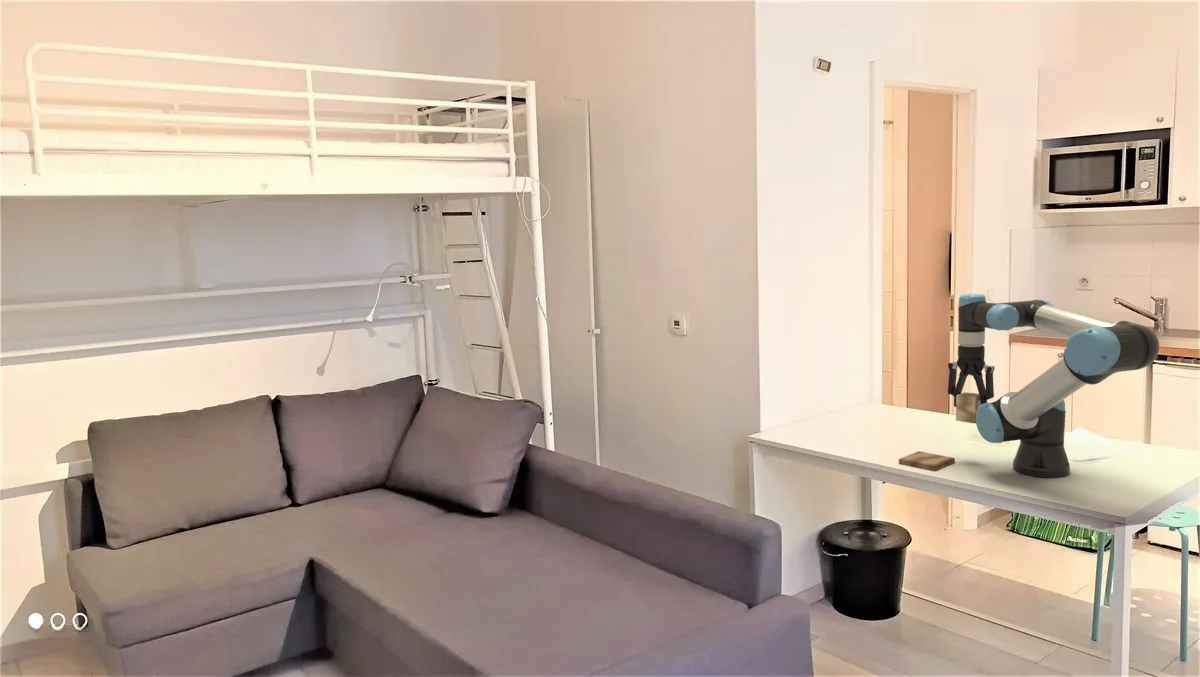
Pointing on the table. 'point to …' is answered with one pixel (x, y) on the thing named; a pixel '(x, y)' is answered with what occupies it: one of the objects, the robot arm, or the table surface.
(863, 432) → the table surface
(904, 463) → the walnut board
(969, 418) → the oak block
